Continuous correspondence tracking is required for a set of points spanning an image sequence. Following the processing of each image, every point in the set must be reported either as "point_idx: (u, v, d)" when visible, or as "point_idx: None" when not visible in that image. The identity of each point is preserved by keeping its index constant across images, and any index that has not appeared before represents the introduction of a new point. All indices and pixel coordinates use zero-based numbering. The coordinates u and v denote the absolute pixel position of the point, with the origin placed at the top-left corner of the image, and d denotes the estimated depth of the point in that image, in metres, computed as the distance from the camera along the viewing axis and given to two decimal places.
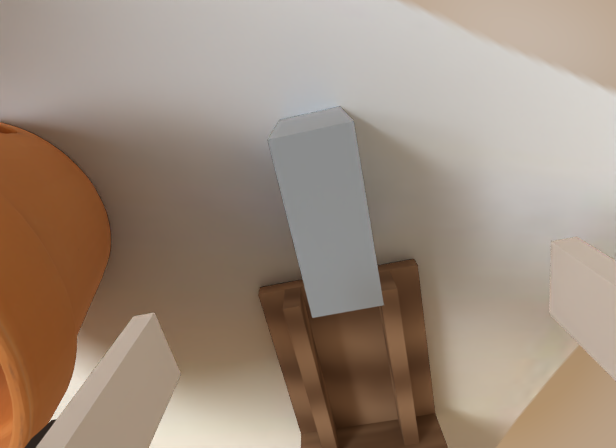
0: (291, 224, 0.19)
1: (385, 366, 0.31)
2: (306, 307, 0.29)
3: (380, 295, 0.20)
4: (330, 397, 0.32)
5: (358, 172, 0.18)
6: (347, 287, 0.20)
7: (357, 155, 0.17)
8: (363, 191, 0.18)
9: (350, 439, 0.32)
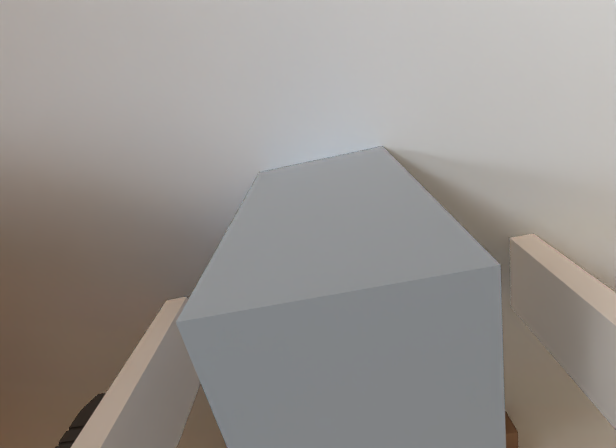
0: None
1: None
2: None
3: None
4: None
5: (492, 416, 0.05)
6: None
7: (496, 370, 0.05)
8: None
9: None
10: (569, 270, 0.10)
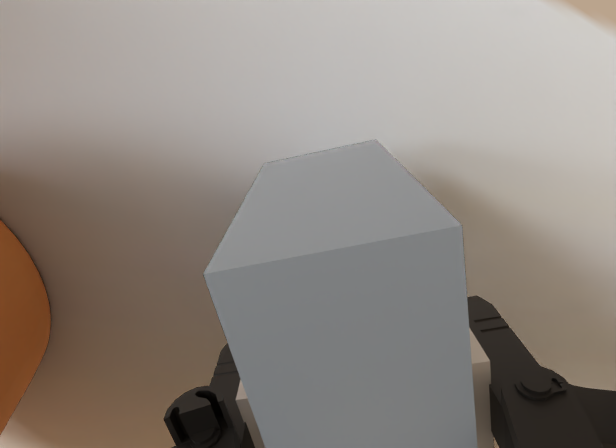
0: None
1: None
2: None
3: None
4: None
5: (460, 354, 0.06)
6: None
7: (462, 314, 0.06)
8: (468, 396, 0.07)
9: None
10: None
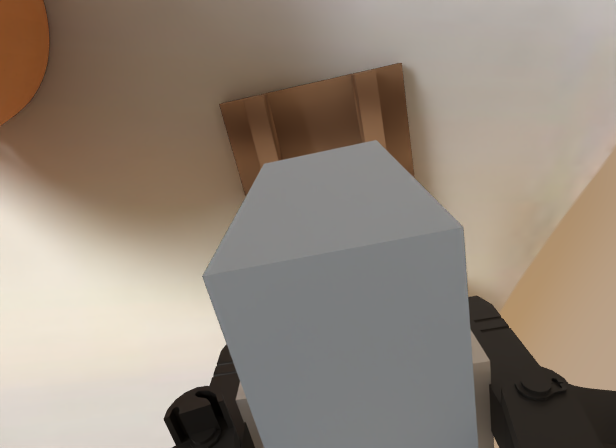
0: None
1: None
2: (274, 121, 0.25)
3: None
4: None
5: (462, 357, 0.06)
6: None
7: (464, 316, 0.06)
8: (470, 398, 0.07)
9: None
10: None
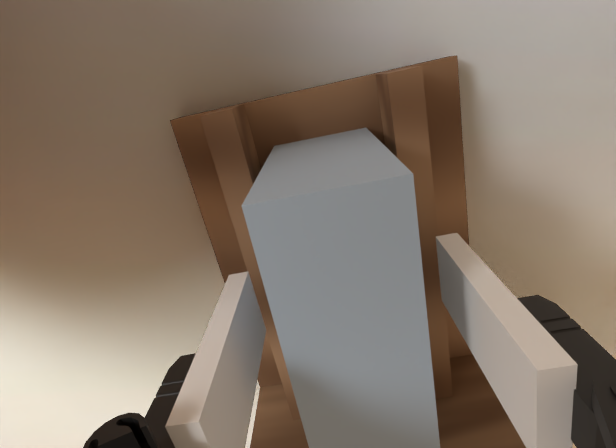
0: (286, 350, 0.10)
1: None
2: (256, 147, 0.16)
3: None
4: None
5: (415, 267, 0.09)
6: (381, 446, 0.12)
7: (415, 237, 0.09)
8: (422, 299, 0.10)
9: None
10: (474, 265, 0.11)
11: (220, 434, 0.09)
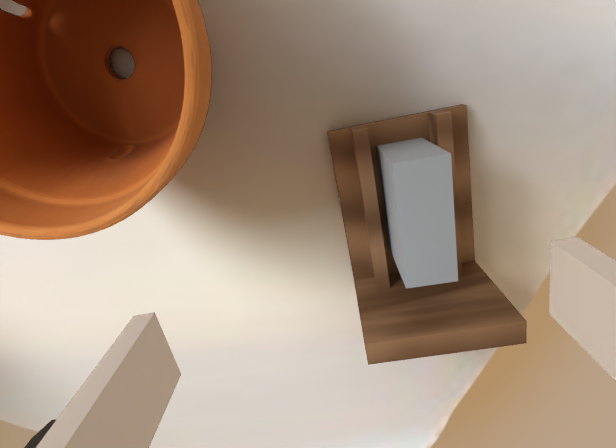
0: (400, 221, 0.27)
1: None
2: None
3: (456, 273, 0.29)
4: None
5: (450, 187, 0.26)
6: (433, 267, 0.29)
7: (450, 175, 0.26)
8: (452, 200, 0.27)
9: (399, 279, 0.37)
10: None
11: None
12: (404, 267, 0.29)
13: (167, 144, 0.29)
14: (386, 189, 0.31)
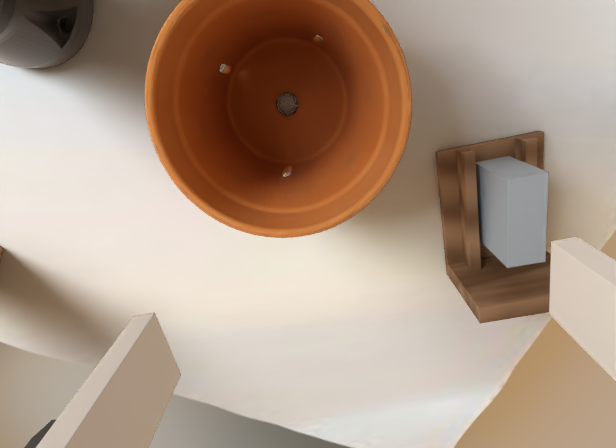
0: (508, 219, 0.39)
1: None
2: None
3: (544, 256, 0.40)
4: None
5: (546, 195, 0.38)
6: (528, 252, 0.40)
7: (547, 187, 0.37)
8: (546, 204, 0.38)
9: (485, 262, 0.48)
10: None
11: None
12: (507, 252, 0.40)
13: (332, 166, 0.40)
14: (487, 195, 0.43)
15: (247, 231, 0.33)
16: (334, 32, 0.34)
